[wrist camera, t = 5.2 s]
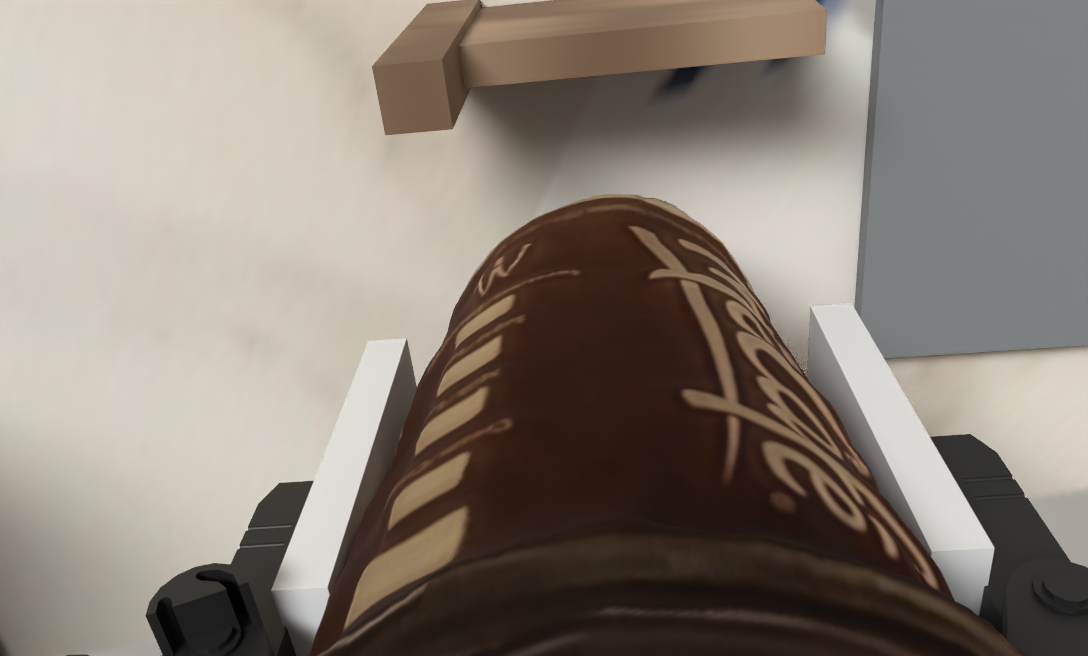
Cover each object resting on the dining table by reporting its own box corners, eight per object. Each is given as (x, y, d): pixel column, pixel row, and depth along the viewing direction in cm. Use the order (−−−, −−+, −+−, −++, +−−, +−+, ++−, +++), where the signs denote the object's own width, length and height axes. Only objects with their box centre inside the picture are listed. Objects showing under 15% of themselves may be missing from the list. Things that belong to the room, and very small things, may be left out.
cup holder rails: (498, 456, 27) (477, 610, 22) (427, 3, 21) (372, 66, 15) (774, 440, 26) (821, 595, 21) (785, -34, 20) (855, 19, 15)
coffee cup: (677, 543, 22) (790, 1311, 11) (353, 420, 20) (82, 1163, 9) (889, 245, 18) (1427, 961, 7) (507, 66, 17) (368, 599, 5)
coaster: (851, 348, 24) (857, 360, 24) (879, -48, 20) (887, -44, 19) (1245, 322, 24) (1259, 333, 23) (1374, -100, 19) (1397, -97, 18)
